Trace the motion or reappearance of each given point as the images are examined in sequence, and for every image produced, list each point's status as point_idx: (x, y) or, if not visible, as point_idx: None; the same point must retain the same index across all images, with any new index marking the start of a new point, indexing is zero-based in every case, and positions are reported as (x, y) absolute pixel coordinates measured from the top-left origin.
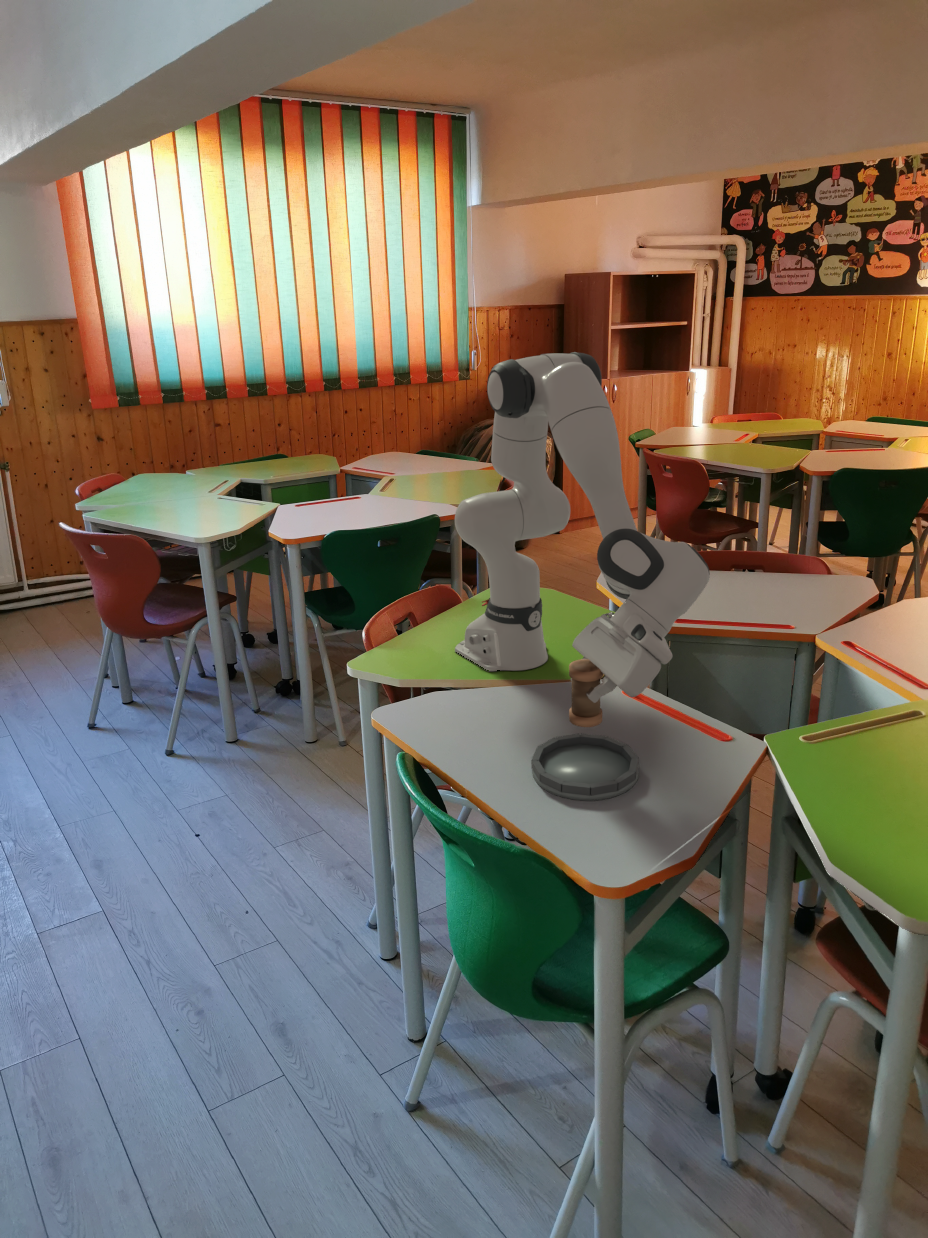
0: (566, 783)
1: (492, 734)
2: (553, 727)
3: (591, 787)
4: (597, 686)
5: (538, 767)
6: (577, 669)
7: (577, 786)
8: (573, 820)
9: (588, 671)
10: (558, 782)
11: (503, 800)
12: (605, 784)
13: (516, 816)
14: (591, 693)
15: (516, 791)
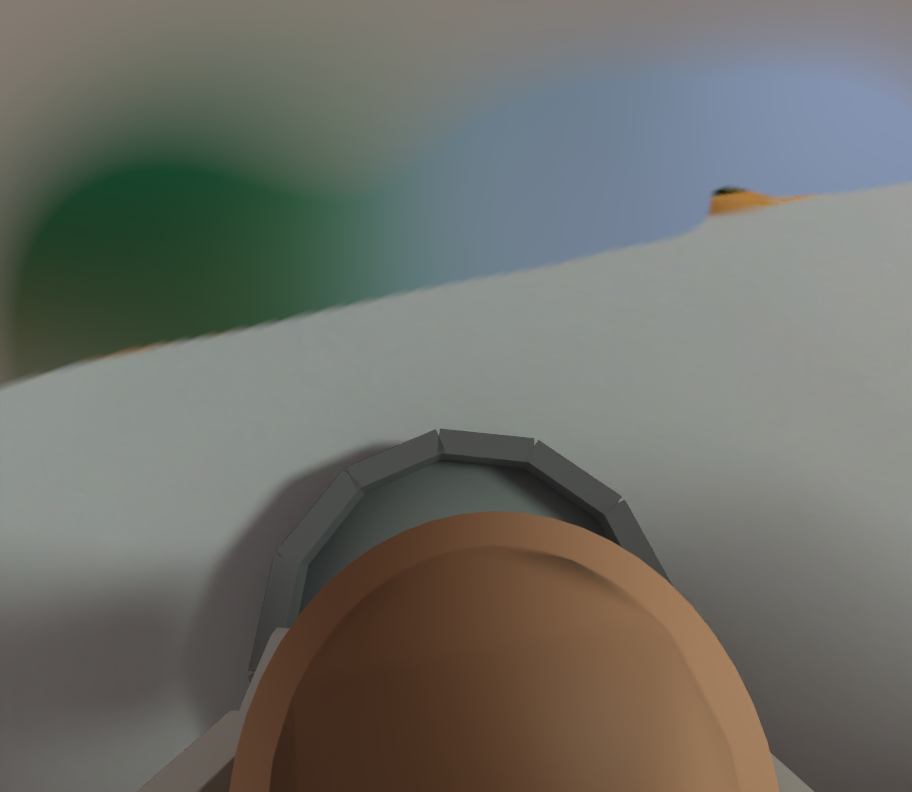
0: (343, 486)
1: (827, 433)
2: (844, 679)
3: (276, 558)
4: (224, 751)
5: (481, 442)
6: (440, 591)
7: (307, 514)
8: (236, 461)
9: (293, 716)
10: (360, 463)
11: (424, 326)
12: (265, 618)
13: (335, 329)
14: (269, 659)
15: (452, 374)
